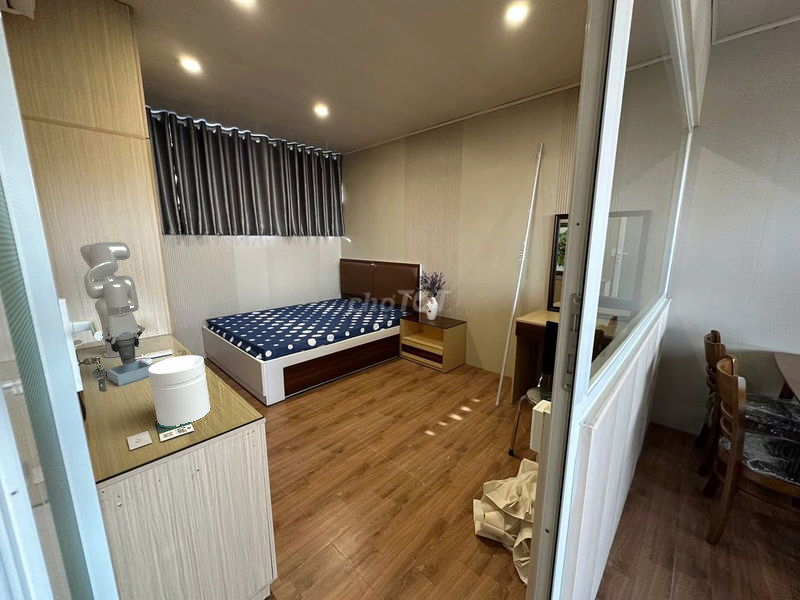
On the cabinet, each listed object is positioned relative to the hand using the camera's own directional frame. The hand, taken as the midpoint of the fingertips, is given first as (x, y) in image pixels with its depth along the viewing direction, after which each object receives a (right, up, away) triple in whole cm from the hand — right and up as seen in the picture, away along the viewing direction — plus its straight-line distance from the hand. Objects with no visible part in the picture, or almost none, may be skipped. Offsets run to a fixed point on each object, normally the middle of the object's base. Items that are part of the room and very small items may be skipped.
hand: (126, 348), depth 143 cm
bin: (0, -14, +3) cm, 14 cm away
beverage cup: (0, -7, +1) cm, 7 cm away
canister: (+45, -20, -28) cm, 57 cm away
